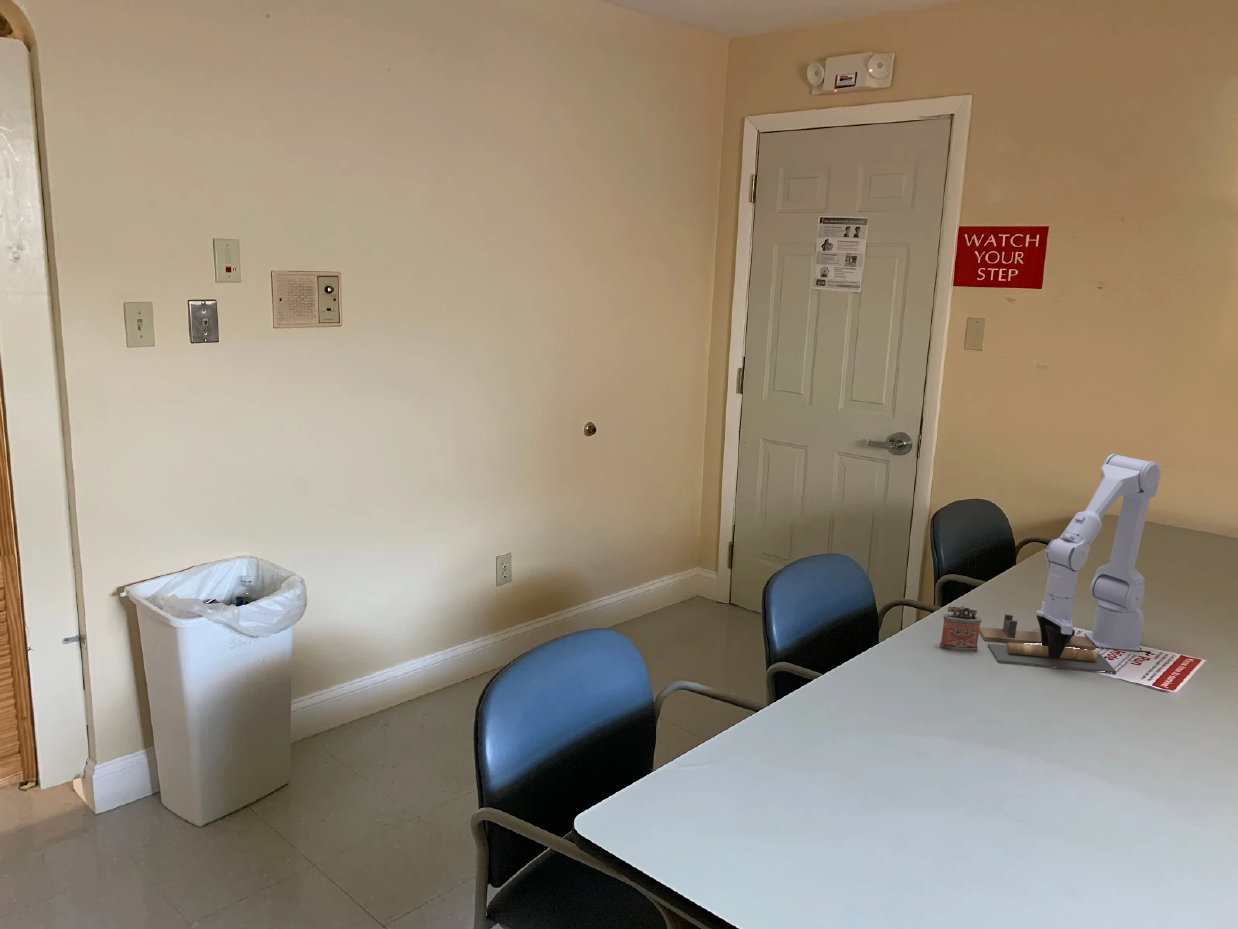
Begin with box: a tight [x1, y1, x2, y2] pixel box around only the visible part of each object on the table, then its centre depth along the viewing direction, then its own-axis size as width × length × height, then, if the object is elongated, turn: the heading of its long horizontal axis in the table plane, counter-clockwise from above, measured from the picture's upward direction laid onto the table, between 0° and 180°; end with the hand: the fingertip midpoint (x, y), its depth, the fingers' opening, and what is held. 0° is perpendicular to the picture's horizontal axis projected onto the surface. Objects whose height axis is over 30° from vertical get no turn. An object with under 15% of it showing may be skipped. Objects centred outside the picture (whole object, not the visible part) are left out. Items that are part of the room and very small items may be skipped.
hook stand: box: [979, 614, 1097, 651], centre depth 208 cm, size 24×6×5 cm, turn 82°
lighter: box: [939, 604, 982, 653], centre depth 201 cm, size 8×3×10 cm, turn 84°
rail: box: [1006, 643, 1098, 662], centre depth 198 cm, size 18×2×2 cm, turn 82°
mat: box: [987, 643, 1117, 674], centre depth 198 cm, size 24×9×1 cm, turn 82°
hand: (1050, 652), depth 198 cm, fingers open, 4 cm apart
